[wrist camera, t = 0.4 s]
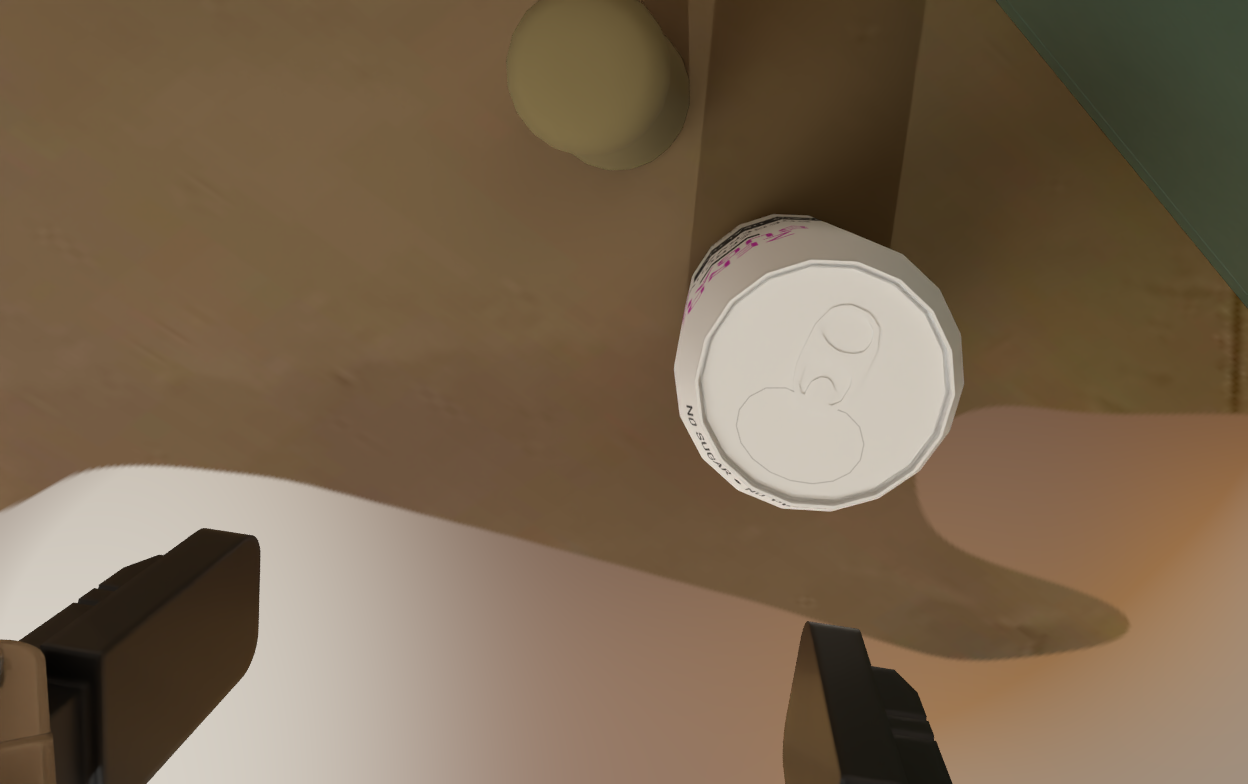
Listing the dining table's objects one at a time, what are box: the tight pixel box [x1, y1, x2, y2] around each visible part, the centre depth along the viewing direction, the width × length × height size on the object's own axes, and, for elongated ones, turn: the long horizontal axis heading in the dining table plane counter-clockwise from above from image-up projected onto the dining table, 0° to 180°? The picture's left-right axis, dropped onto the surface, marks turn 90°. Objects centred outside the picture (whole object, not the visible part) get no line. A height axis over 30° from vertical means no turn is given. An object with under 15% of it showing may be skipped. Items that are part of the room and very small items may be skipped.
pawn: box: [506, 0, 689, 170], centre depth 34 cm, size 6×6×11 cm
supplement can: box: [674, 214, 964, 511], centre depth 33 cm, size 8×8×15 cm
